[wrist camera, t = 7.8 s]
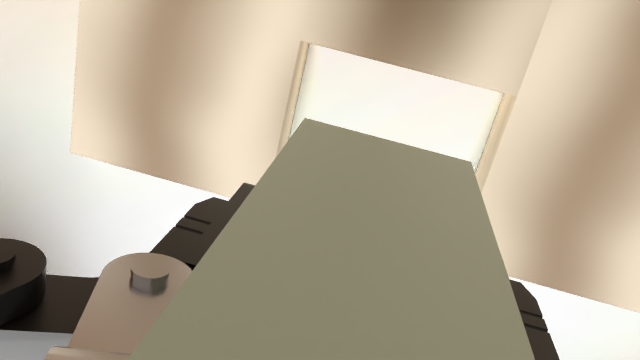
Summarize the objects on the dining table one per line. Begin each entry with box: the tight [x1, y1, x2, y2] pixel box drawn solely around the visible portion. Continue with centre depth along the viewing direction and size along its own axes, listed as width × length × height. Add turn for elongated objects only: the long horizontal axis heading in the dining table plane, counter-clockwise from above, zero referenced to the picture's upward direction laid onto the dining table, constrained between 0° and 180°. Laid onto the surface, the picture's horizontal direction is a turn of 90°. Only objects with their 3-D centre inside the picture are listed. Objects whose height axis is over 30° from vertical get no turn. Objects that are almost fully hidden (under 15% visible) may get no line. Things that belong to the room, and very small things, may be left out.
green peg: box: [127, 118, 535, 360], centre depth 10 cm, size 4×4×9 cm
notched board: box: [70, 0, 640, 313], centre depth 18 cm, size 22×14×2 cm, turn 77°
